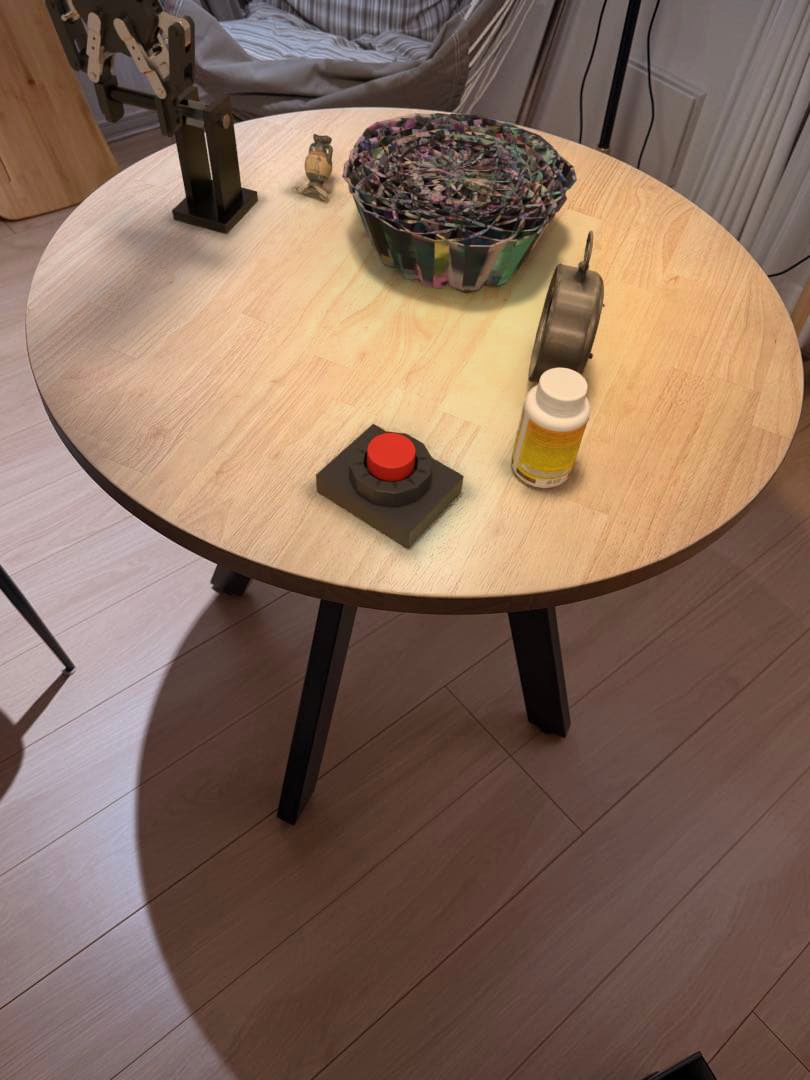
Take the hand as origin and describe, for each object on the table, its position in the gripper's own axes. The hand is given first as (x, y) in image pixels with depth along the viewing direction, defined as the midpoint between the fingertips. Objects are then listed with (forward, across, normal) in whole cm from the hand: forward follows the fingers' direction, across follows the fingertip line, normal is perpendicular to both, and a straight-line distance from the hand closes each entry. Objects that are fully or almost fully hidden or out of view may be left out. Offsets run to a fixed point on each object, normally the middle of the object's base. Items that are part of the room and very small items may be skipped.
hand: (143, 125), depth 77 cm
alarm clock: (+15, +45, -3) cm, 48 cm away
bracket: (+14, 0, +10) cm, 18 cm away
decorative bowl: (+15, +28, +17) cm, 36 cm away
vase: (+15, +9, +20) cm, 27 cm away
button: (+11, +35, -23) cm, 43 cm away
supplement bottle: (+15, +47, -15) cm, 51 cm away
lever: (+2, 0, +5) cm, 5 cm away
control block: (+14, +35, -23) cm, 44 cm away
